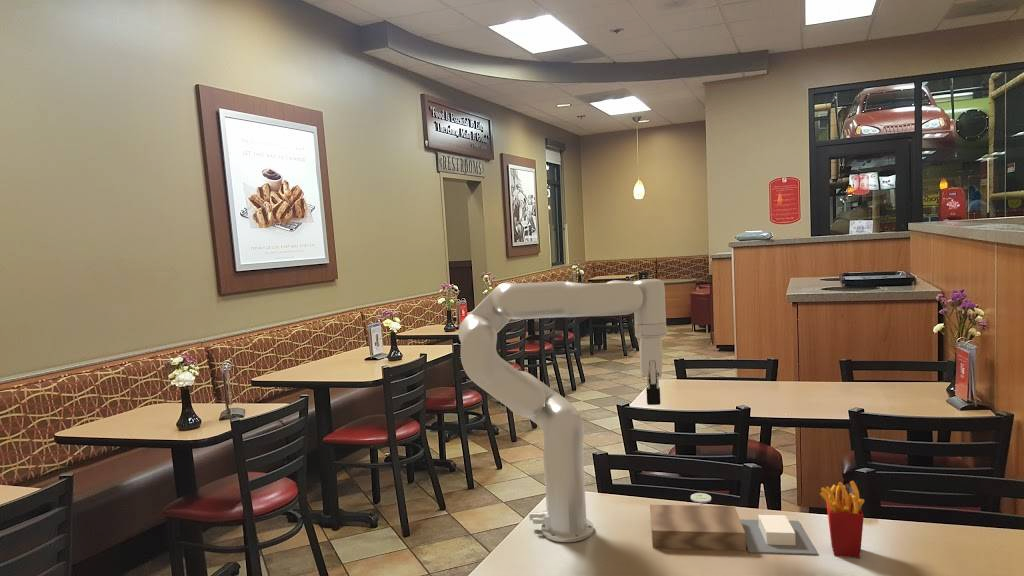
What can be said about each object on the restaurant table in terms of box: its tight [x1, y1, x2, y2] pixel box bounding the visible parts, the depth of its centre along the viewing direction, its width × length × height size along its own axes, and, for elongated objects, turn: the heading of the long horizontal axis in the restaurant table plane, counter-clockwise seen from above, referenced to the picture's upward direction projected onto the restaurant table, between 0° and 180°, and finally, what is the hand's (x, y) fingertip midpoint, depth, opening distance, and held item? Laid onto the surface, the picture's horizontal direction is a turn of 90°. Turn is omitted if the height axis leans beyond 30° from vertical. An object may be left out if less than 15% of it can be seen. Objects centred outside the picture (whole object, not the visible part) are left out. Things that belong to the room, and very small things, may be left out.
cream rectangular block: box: [757, 514, 796, 545], centre depth 143 cm, size 6×9×3 cm, turn 169°
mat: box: [740, 518, 819, 556], centre depth 144 cm, size 14×16×1 cm
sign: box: [690, 492, 712, 506], centre depth 162 cm, size 5×1×15 cm
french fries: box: [819, 480, 865, 559], centre depth 136 cm, size 9×8×15 cm
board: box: [649, 504, 747, 551], centre depth 147 cm, size 20×14×4 cm
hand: (653, 403), depth 154 cm, fingers closed
